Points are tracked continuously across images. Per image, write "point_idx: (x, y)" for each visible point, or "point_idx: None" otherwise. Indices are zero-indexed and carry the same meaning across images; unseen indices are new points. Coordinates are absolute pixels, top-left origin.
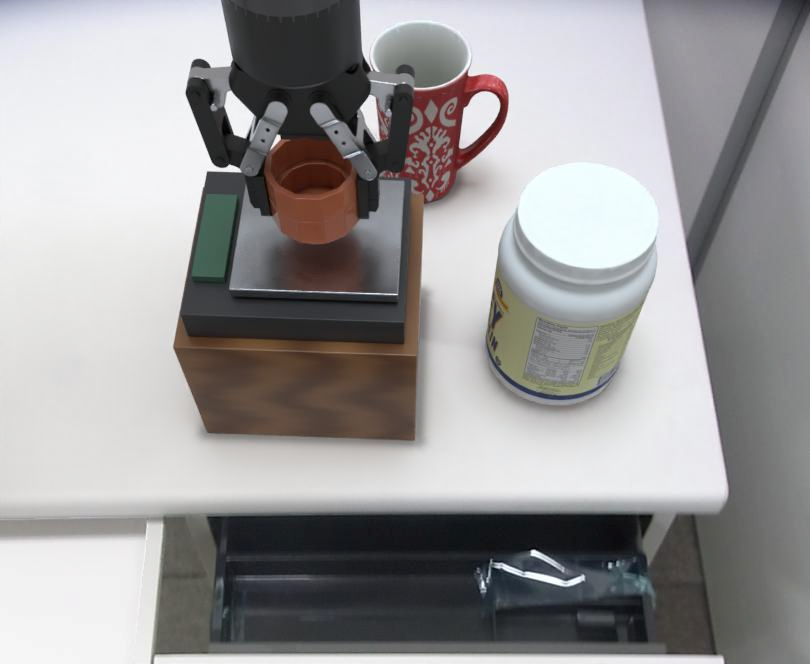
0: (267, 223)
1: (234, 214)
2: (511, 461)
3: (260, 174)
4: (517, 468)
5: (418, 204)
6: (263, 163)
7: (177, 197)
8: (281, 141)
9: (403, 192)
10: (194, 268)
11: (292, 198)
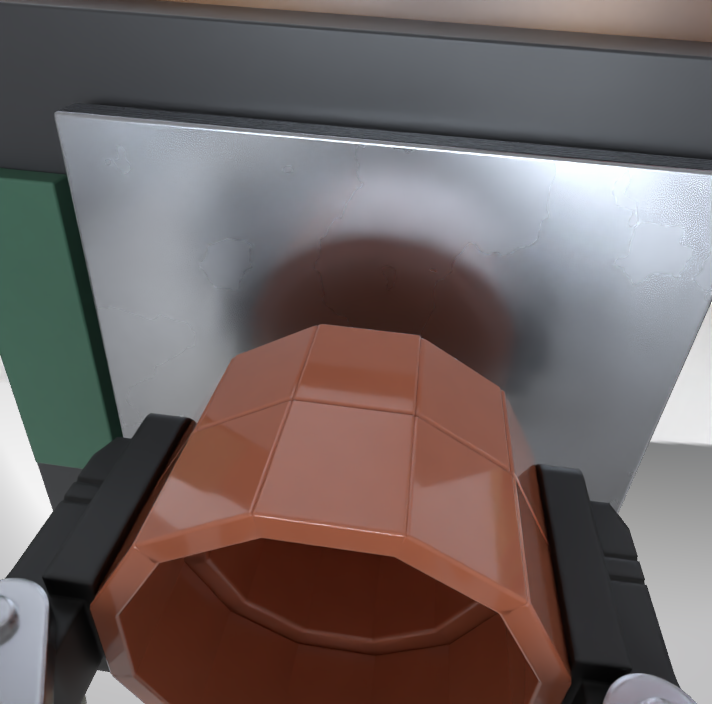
0: (193, 354)
1: (74, 273)
2: (703, 397)
3: (101, 662)
4: (708, 409)
5: None
6: (94, 625)
7: None
8: (141, 560)
9: None
10: (34, 445)
11: None
